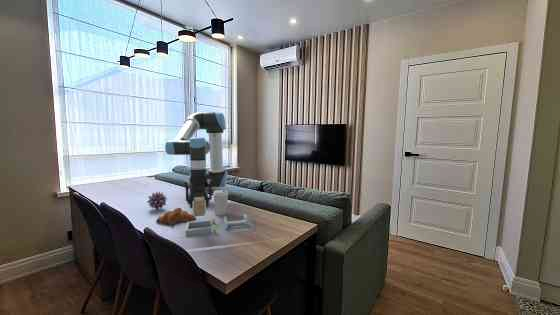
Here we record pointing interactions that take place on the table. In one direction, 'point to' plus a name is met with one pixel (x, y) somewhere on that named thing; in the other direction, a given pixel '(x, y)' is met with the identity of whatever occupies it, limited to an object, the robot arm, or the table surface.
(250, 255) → the table surface
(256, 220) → the table surface
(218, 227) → the housing
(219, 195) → the coffee cup
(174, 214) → the pastry
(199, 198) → the jaw block
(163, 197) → the spiky ball
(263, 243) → the table surface
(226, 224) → the gate
